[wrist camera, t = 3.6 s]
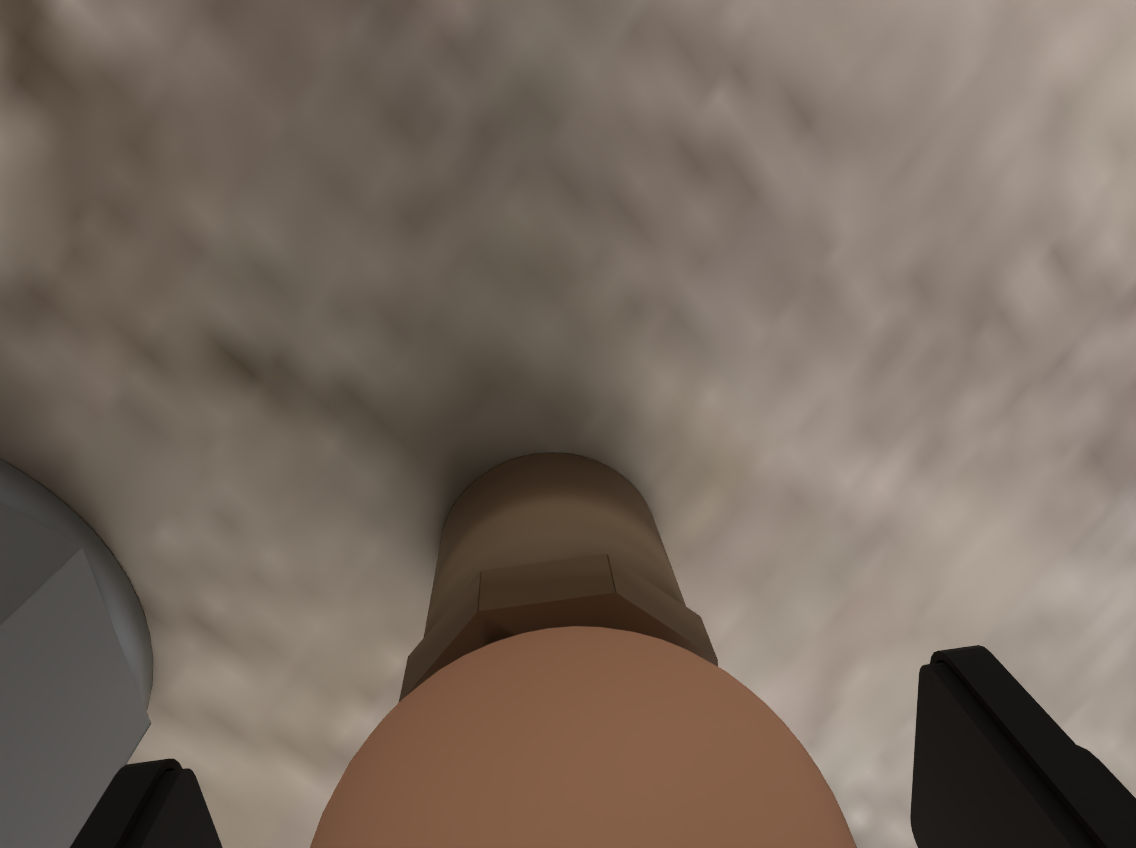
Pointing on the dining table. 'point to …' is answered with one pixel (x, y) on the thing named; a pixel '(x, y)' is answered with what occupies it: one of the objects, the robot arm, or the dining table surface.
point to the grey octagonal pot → (63, 667)
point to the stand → (550, 563)
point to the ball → (582, 756)
